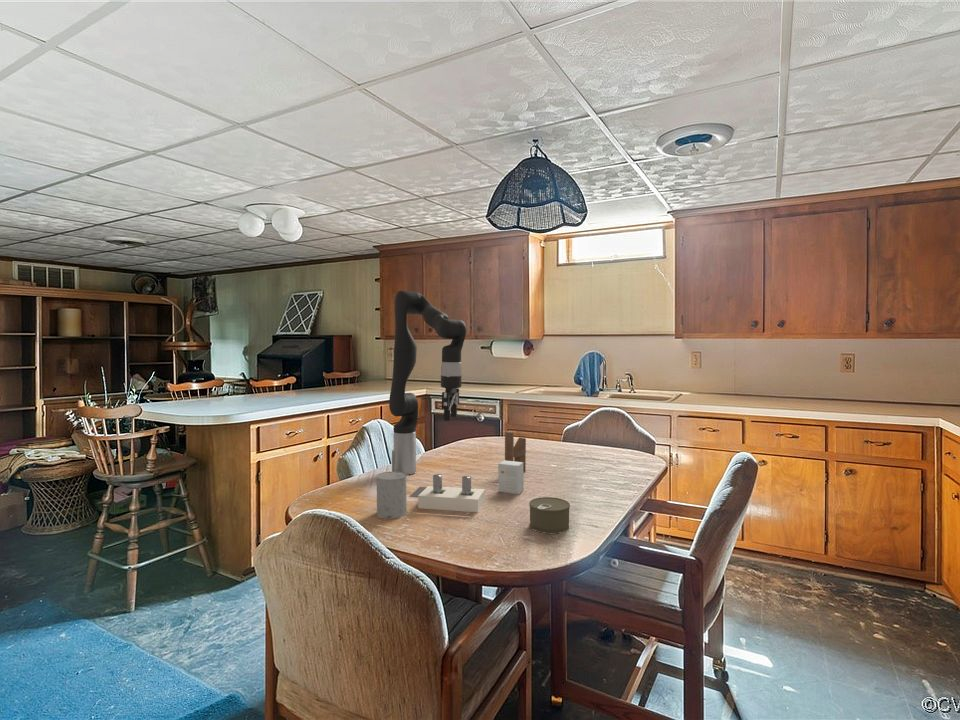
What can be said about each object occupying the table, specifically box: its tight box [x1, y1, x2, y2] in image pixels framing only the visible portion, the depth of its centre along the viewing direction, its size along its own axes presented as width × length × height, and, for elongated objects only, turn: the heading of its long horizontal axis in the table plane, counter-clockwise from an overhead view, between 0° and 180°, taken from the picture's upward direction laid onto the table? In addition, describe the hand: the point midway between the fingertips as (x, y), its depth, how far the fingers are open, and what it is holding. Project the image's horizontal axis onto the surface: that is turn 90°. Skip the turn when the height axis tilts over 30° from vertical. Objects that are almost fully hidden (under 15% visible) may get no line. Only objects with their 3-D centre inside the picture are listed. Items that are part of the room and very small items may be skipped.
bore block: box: [417, 485, 486, 514], centre depth 165 cm, size 20×11×4 cm, turn 78°
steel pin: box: [432, 473, 443, 494], centre depth 166 cm, size 3×3×10 cm
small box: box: [497, 459, 525, 495], centre depth 181 cm, size 8×6×10 cm
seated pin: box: [461, 475, 472, 496], centre depth 164 cm, size 3×3×10 cm
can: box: [528, 496, 571, 534], centre depth 147 cm, size 12×12×7 cm
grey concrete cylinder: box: [375, 470, 408, 520], centre depth 158 cm, size 10×10×12 cm
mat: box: [408, 486, 428, 498], centre depth 178 cm, size 14×12×1 cm
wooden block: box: [504, 430, 527, 473], centre depth 205 cm, size 4×11×18 cm, turn 137°
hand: (450, 418), depth 181 cm, fingers open, 8 cm apart
